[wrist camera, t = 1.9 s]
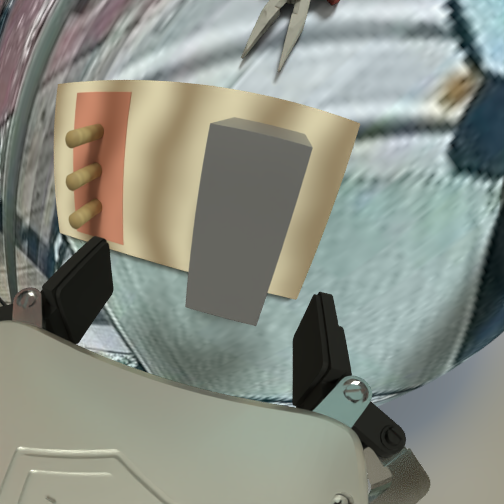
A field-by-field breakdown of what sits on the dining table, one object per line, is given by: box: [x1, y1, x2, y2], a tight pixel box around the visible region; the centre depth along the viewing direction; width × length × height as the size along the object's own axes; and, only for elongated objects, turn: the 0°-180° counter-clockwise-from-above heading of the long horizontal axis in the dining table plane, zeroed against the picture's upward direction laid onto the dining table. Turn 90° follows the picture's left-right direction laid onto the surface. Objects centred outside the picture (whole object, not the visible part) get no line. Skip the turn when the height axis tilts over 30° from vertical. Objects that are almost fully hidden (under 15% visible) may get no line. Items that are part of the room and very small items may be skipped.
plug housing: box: [185, 117, 313, 326], centre depth 18 cm, size 12×5×6 cm, turn 167°
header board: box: [54, 80, 360, 299], centre depth 20 cm, size 26×16×5 cm, turn 77°
